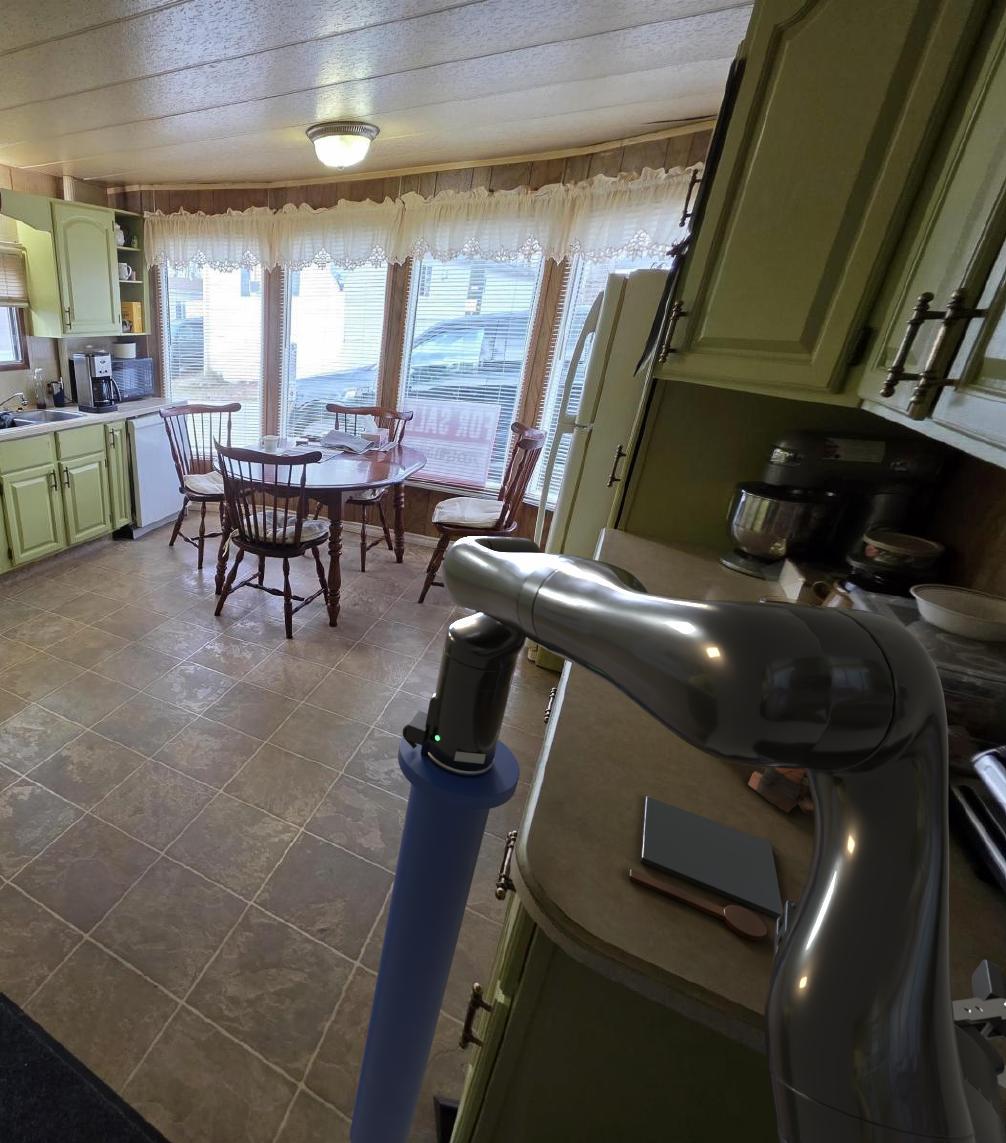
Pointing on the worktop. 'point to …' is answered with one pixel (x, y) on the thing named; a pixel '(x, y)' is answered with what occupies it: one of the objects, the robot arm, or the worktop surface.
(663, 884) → the spoon
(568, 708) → the worktop surface
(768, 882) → the slate board
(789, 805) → the pottery mug
